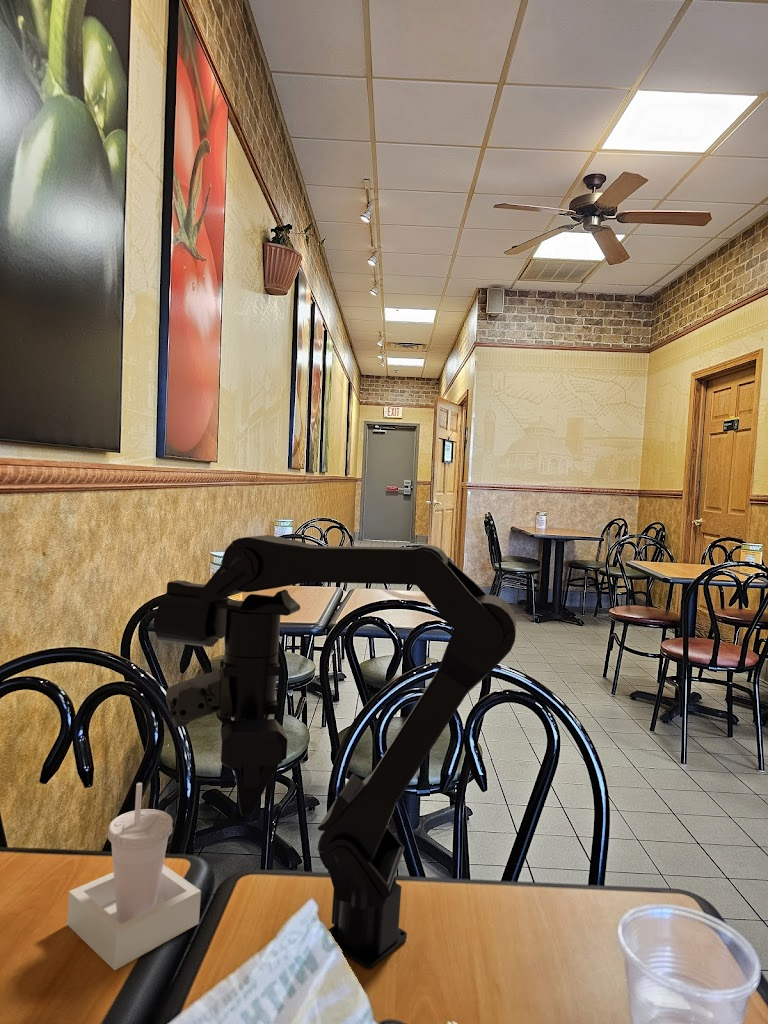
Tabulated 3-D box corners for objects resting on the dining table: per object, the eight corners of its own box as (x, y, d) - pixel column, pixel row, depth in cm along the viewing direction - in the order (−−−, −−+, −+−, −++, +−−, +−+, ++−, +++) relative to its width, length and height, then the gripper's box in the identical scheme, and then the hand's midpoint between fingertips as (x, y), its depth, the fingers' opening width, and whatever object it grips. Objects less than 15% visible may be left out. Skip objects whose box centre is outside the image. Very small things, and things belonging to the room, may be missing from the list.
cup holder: (198, 923, 68) (200, 890, 68) (114, 970, 61) (116, 933, 61) (149, 885, 74) (151, 855, 74) (67, 924, 67) (68, 891, 67)
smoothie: (89, 919, 67) (96, 785, 66) (138, 888, 72) (146, 764, 72) (132, 942, 64) (140, 802, 63) (181, 908, 69) (188, 779, 69)
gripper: (175, 632, 77) (167, 763, 77) (170, 677, 59) (159, 847, 59) (270, 633, 80) (262, 758, 80) (292, 675, 62) (282, 836, 62)
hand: (242, 794), depth 70 cm, fingers open, 9 cm apart
